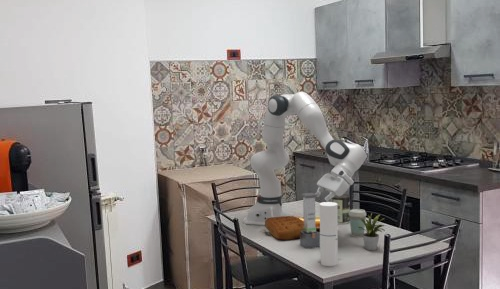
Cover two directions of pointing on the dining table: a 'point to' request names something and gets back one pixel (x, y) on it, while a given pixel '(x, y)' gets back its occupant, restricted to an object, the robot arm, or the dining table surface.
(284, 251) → the dining table surface
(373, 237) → the house plant
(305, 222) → the column
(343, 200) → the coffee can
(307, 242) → the stand base
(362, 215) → the coffee cup
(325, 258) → the cylindrical container
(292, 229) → the cuneiform tablet
